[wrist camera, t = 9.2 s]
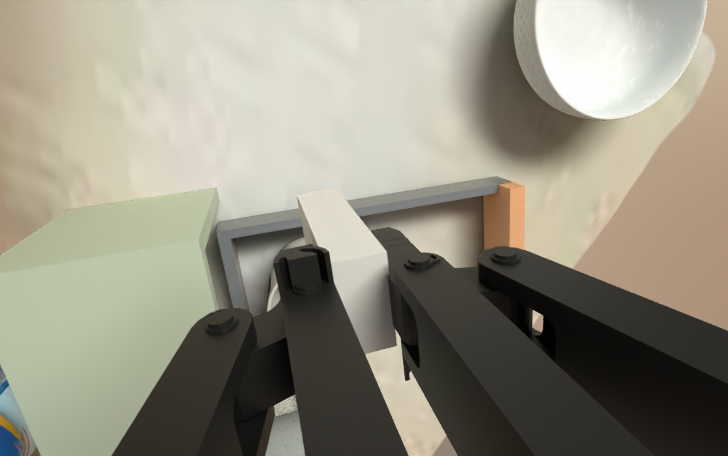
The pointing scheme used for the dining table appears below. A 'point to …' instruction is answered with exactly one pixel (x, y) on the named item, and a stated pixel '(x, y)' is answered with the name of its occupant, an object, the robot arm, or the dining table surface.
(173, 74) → the dining table surface
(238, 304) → the drawer
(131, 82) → the dining table surface
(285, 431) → the ceramic mug
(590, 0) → the cereal bowl
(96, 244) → the toy stool
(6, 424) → the beverage bottle
